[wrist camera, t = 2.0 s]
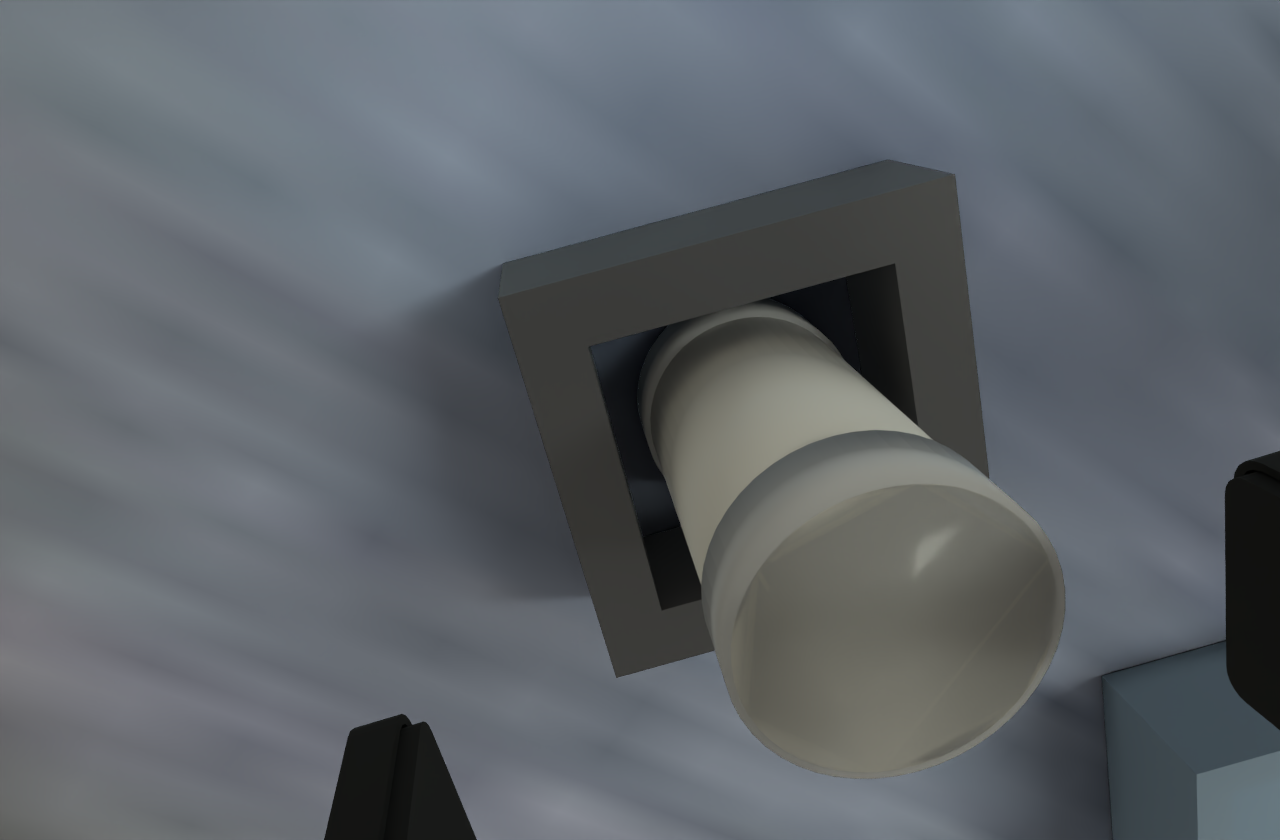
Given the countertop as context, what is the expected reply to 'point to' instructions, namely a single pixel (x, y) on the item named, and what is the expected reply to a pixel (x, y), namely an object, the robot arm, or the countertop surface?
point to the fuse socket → (717, 280)
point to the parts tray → (1189, 753)
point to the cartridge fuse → (843, 551)
